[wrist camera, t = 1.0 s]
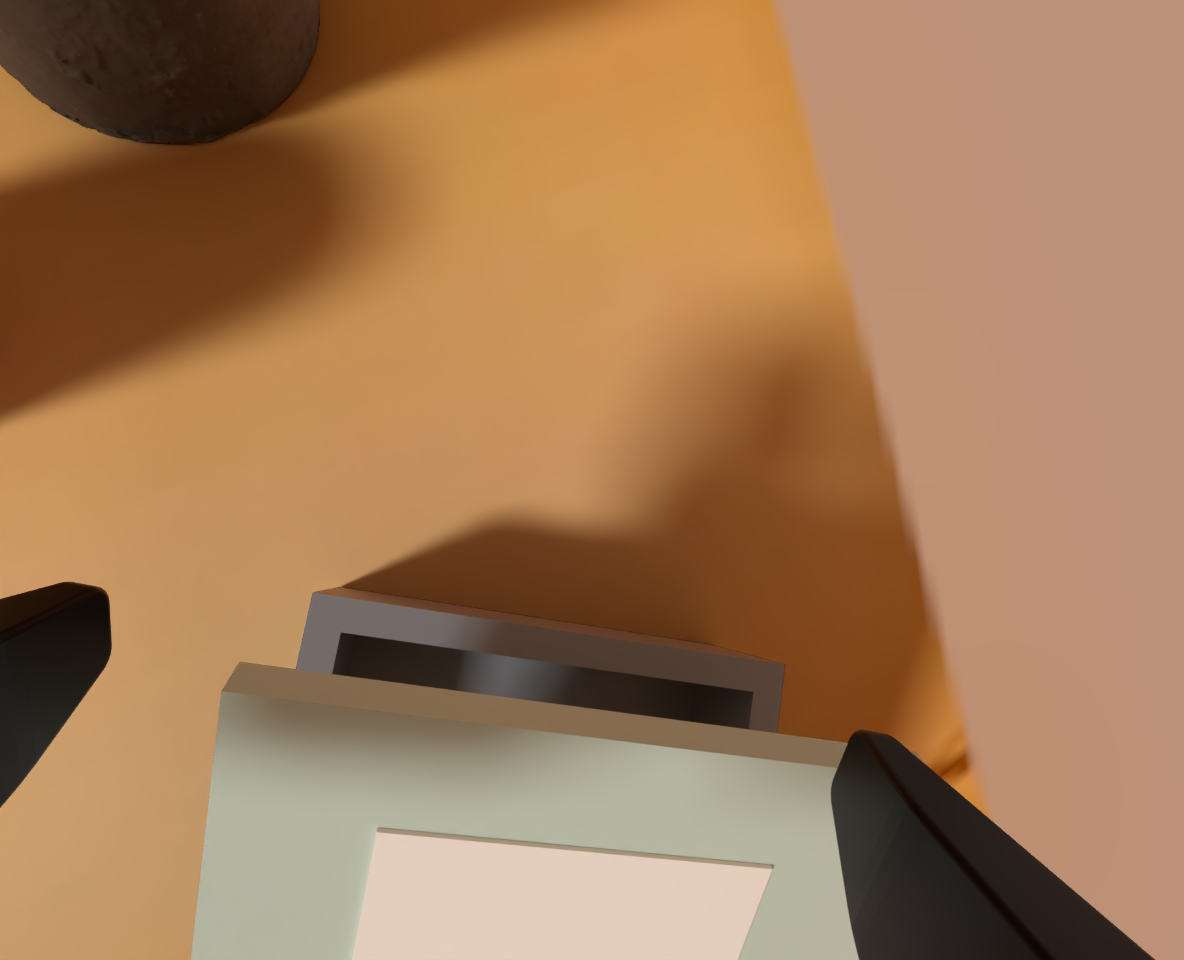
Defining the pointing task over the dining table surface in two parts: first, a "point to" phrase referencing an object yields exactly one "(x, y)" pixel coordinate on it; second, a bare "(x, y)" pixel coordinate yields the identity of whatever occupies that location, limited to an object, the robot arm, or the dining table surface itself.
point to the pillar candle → (159, 61)
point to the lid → (508, 831)
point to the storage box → (537, 660)
